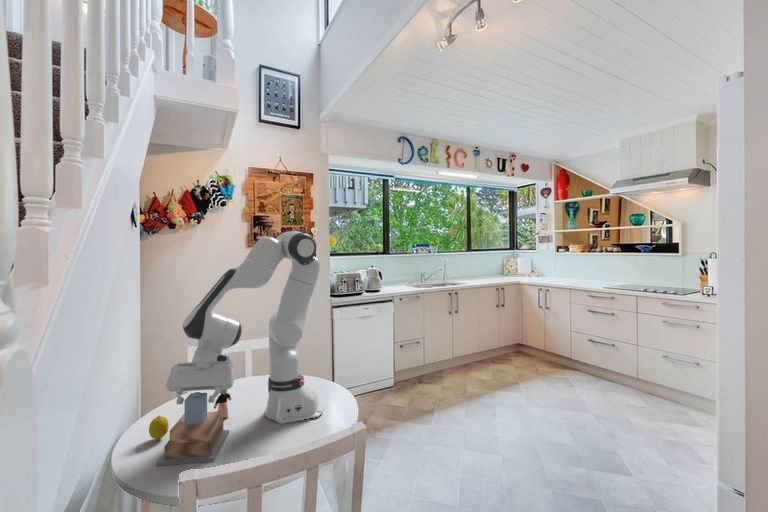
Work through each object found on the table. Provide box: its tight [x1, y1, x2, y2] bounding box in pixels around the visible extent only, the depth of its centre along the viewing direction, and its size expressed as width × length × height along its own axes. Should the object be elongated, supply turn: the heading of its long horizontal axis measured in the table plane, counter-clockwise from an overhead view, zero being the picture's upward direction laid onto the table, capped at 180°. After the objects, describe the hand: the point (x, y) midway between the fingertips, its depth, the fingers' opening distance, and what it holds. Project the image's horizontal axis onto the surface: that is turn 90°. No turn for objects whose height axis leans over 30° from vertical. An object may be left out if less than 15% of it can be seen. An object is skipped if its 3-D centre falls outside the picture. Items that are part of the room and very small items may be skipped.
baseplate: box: [156, 429, 230, 467], centre depth 110 cm, size 16×16×1 cm
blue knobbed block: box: [184, 391, 208, 425], centre depth 109 cm, size 5×5×9 cm
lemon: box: [148, 415, 170, 441], centre depth 114 cm, size 6×6×8 cm
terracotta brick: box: [163, 410, 224, 459], centre depth 110 cm, size 13×13×8 cm
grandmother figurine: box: [213, 389, 232, 422], centre depth 129 cm, size 8×4×13 cm, turn 168°
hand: (195, 402), depth 109 cm, fingers open, 8 cm apart
